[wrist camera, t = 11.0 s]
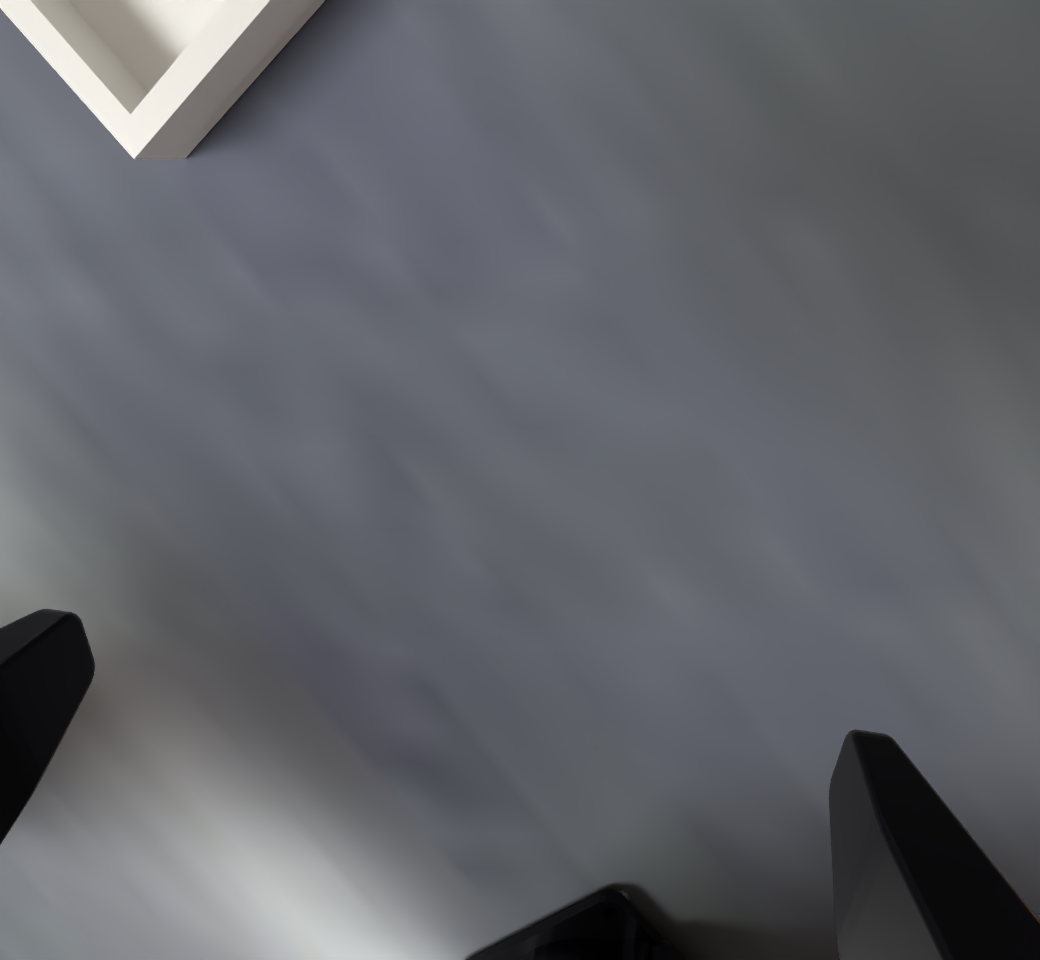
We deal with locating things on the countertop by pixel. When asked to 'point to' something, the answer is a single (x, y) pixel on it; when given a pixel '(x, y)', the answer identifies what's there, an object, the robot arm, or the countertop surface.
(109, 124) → the tray
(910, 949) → the robot arm
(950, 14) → the countertop surface
